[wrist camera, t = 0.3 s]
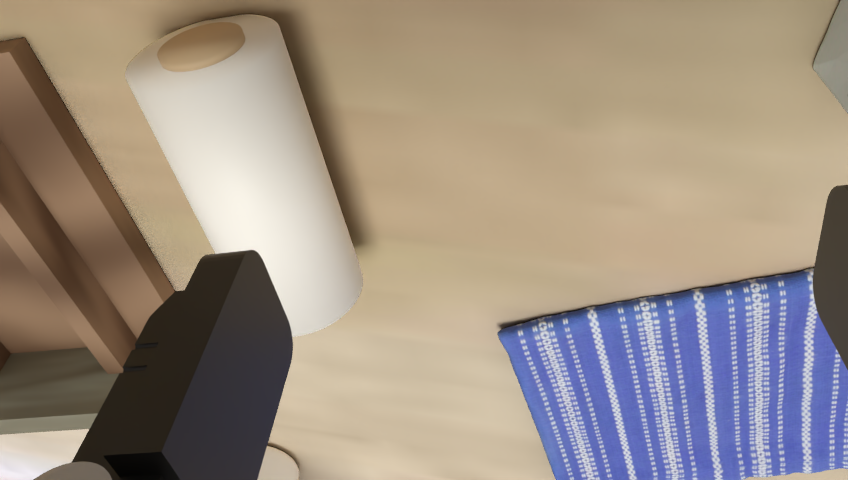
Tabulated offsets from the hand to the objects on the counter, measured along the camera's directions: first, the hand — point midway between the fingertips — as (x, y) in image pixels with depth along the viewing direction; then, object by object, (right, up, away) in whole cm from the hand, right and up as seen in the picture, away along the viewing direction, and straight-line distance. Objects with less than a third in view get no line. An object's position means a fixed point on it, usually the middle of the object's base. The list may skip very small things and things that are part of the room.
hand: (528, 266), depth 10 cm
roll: (-8, +4, +20) cm, 22 cm away
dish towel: (+16, -7, +29) cm, 34 cm away
